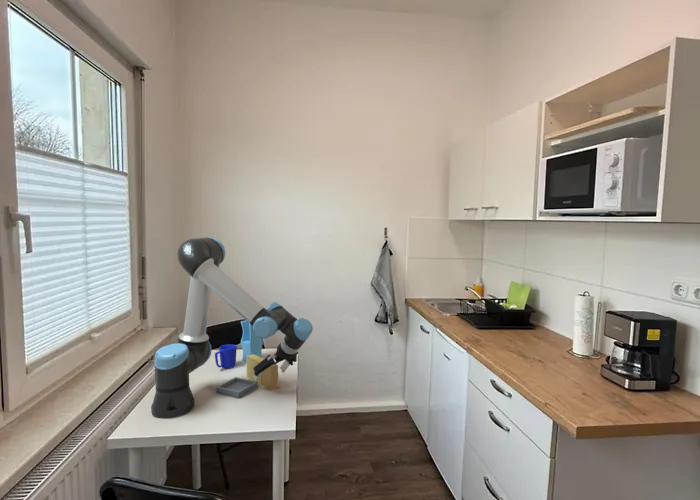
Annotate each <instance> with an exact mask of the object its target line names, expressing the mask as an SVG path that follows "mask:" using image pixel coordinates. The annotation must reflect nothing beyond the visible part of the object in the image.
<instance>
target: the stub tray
mask: <svg viewBox="0 0 700 500" xmlns="http://www.w3.org/2000/svg"><path fill="white" fill-rule="evenodd" d="M258 388H259V384H258V382H256V381H252V380H250V379H247V378H242V377H233V378H232V379H230V380H228V381H226V382H224V383H221V384H219V385H218V386H216V387H215V393H216V394H218V395H222V396H225V397H230V398H235V399H240V398H242V397H244V396H246V395H248V394H249V393H252V392H253V391H255V390H256V389H258Z"/></svg>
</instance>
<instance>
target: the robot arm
mask: <svg viewBox="0 0 700 500" xmlns="http://www.w3.org/2000/svg"><path fill="white" fill-rule="evenodd" d="M225 257H226V249H225V247H224V244H223V243H222V242H221V241H220V240H219V239H217V238H214V237H206V236H204V237H200V238H199V237H197V238H188V239H187V240H185V241H183V242H182V243H181V244H180V245H179V247H178V249H177V261H178V262H179V265H180V266H181V268H182V269H184V271H185V272H186V273H187V274H188V275H189V276H190V281H189V288H188V296H187V303H186V310H185V316H184V324H183V331H182V332H181V333H179V335H178V338H177V343H171V344H168V345H164V346H162V347H160V348H159V349H157V351H156V352H155V354H154V363H153V365H154V377H155V378H154V380H155V392H154V393H155V394H154V396H153V401H152V404H151V407H150V409H151V412H150V413H152V414H151V415H152V416H153V417H156V418H160V419H169V418H170V419H171V418H176V417H181V416H184V415H186V414H188V413H190V412H191V411H193V410H194V408H195V407H196V402H195V401H196V400H195V397H194V394H193V393H192V390H191V387H190V373H192V372H194V371H196V370H197V369H198V368H200V367H202V366H203V365H205V364H206V363H207V362H208V360H209V359H210V357H211V355H212V352H213V351H212V344H211V343H210V341H209V339H210V336H209V335H208V334H207V326H208V321H209V320H208V319H209V313H210V312H209V311H210V306H211V305H210V304H211V300H212V299H211V297H212V292H213V293H214V294H216V295H217V296H218V297H219V298H220V299H221V300H223V302H225V304H227V305H228V306H230V307H231V308H232V309H233V310H234V311H235V312H236V313H238V315H240V316H241V317H242V318H243V319H244V321H245V320H247V321H248V322H249V323H250V324H251V325H252V326H253V330H254V333H255V335H256V336H257V337H259V338H262V339H264V340H266V339H269V338H270V337H272V336H274V335H275V334H276V333H277V332H278V331H280V332H281V334H284V335H285V336H284V337H283V338H282V339H281V341H280V343H279V344H278V346H277V347H276V352H275V353H274V354H273V355H272V354H268V355H267V356H266V357H265V358H263V359H264V360H263V361H261V362H260V363H259V364H258V365H256V366H255V367H254V368H253V369H254V371H255V372H254V374H253V377H254V379H255V381H257V380H258V378H259V377H260V376H261V374H262V372H263V371H264V370H266V369H267V368H269V367H270V366H272V365H273V364H274V365H275V364H277V365H278V363H281V362H283V363H282V364H281V365H280V366H279V369H280V370H281V373H285V371H286V370H287V369H288V368H289V367H290V366H293V365H294V363H296V362H298V360H297V359H298V354H299V350H300V348H301V347H302V346H303V345H304V343H305V342H306V341H307V340H308V339H309V337H310V335H312V333H313V330H314V328H313V324H312V323H311V321H310V320H308V319H306V318H305V317H300V318H297V317H295V316H294V315H292V313H290V311H288V310H287V309H286V308H285V307H284V306H282V305H281V304H280V303H278V302H276V301H272V302H271V303H270V304H269V305H268V306H267V307H266V308H265V307H264V306H263V305H262V304H261V303H260V302H258V301H257V300H256V299H255V298H254V297H253V296H252V295H250V294H249V293H248V292H247V291H246V290H245V289H244V288H243V287H241V286H240V285H239V284H238V283H237V282H236V281H235V280H233V278H232V277H230V276H229V275H228V274H227V273H225V272H224V271H223V270H222V269H221V268H220V264H221V263H223V261H224V260H225Z"/></svg>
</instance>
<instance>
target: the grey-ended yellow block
mask: <svg viewBox="0 0 700 500" xmlns="http://www.w3.org/2000/svg"><path fill="white" fill-rule="evenodd" d="M264 359H265V358H264V357H263V358H261V357H258V356H256V355H254V354H252V355H248V356H246V362H245V363H246V379H247V380H251V381H255V379H254V377H253V374H254V372H255V371H254V369H253V368H254V367H255V366H256V365H258V364H259V363H260V362H261V361H263V360H264ZM256 382H258V385H260V386H262V374H261V376H260V377H259V378H258V380H257V381H256Z"/></svg>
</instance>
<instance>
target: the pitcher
mask: <svg viewBox="0 0 700 500" xmlns="http://www.w3.org/2000/svg"><path fill="white" fill-rule="evenodd" d="M240 324H241V328H242V337H241V339H240V345H241V348H242V362H245V363H247V362H246V356H248V355H252V354H254V355H256V356H258V357H261V358H263V359H264V357H263V353H262V349H263V344H264V340H263V338H259V337H257V336H256V335H255V333H254V330H253V326H252V325H251V324H250V323H249V322H248V321H247V320H245V319H244V320H240Z"/></svg>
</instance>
